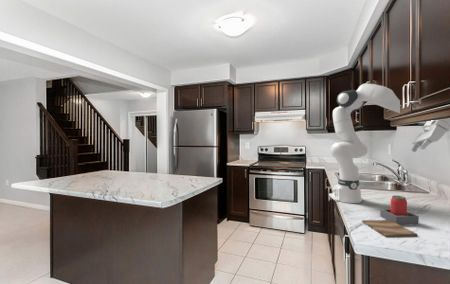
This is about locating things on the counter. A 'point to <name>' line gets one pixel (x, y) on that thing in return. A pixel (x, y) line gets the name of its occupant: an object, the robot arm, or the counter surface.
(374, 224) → the walnut board
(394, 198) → the beer can
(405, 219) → the can collar
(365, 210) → the counter surface
